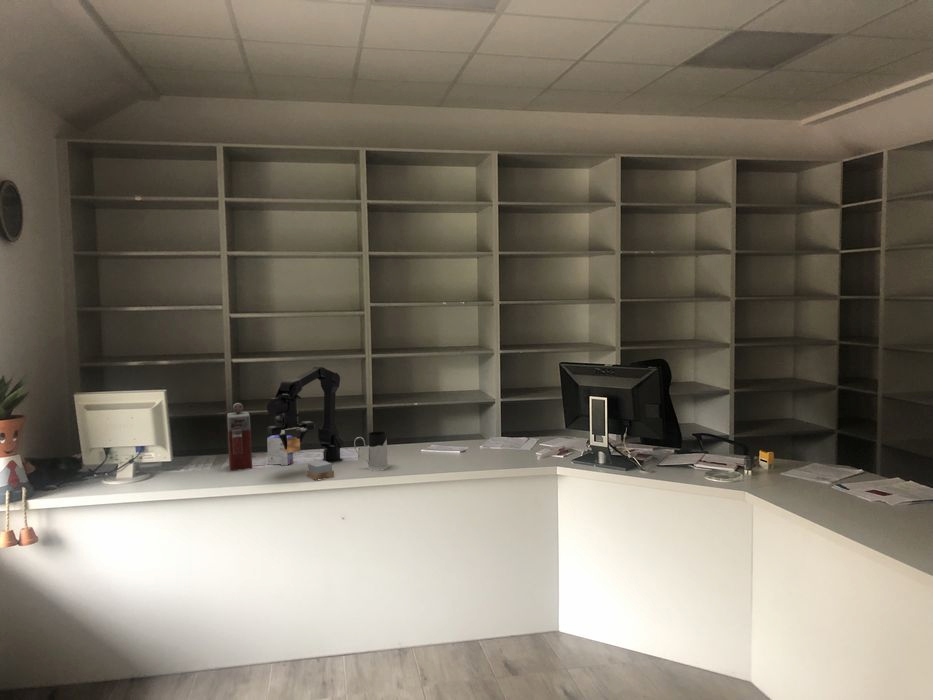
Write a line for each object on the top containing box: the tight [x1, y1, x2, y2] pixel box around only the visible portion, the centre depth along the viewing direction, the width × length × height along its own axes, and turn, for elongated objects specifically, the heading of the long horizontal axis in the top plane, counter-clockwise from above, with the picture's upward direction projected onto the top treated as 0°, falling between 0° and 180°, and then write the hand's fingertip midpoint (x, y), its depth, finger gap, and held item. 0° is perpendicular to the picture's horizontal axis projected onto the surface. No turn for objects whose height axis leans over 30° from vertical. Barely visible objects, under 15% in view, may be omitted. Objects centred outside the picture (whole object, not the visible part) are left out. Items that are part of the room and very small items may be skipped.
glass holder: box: [353, 431, 389, 471], centre depth 286 cm, size 9×14×15 cm, turn 99°
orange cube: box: [284, 436, 301, 453], centre depth 278 cm, size 5×5×5 cm
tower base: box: [306, 469, 335, 481], centre depth 274 cm, size 8×8×3 cm
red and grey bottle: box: [226, 402, 253, 471], centre depth 289 cm, size 9×11×28 cm
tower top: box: [307, 460, 333, 474], centre depth 274 cm, size 7×7×3 cm
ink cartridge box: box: [266, 435, 294, 466], centre depth 296 cm, size 10×6×14 cm, turn 78°
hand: (292, 448), depth 278 cm, fingers closed on orange cube, 5 cm apart
